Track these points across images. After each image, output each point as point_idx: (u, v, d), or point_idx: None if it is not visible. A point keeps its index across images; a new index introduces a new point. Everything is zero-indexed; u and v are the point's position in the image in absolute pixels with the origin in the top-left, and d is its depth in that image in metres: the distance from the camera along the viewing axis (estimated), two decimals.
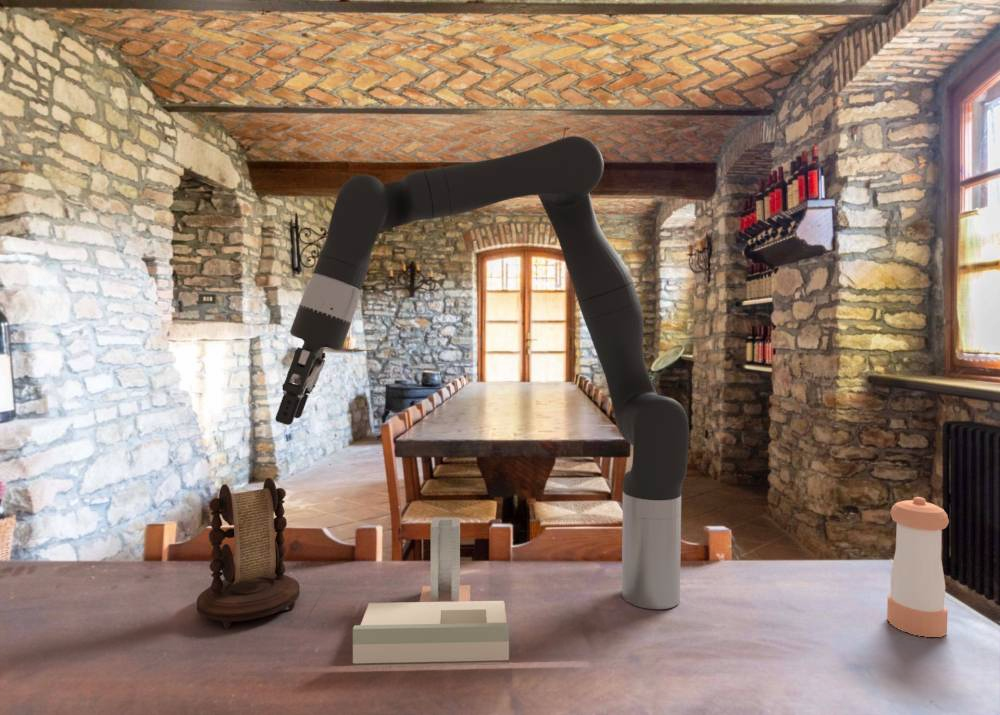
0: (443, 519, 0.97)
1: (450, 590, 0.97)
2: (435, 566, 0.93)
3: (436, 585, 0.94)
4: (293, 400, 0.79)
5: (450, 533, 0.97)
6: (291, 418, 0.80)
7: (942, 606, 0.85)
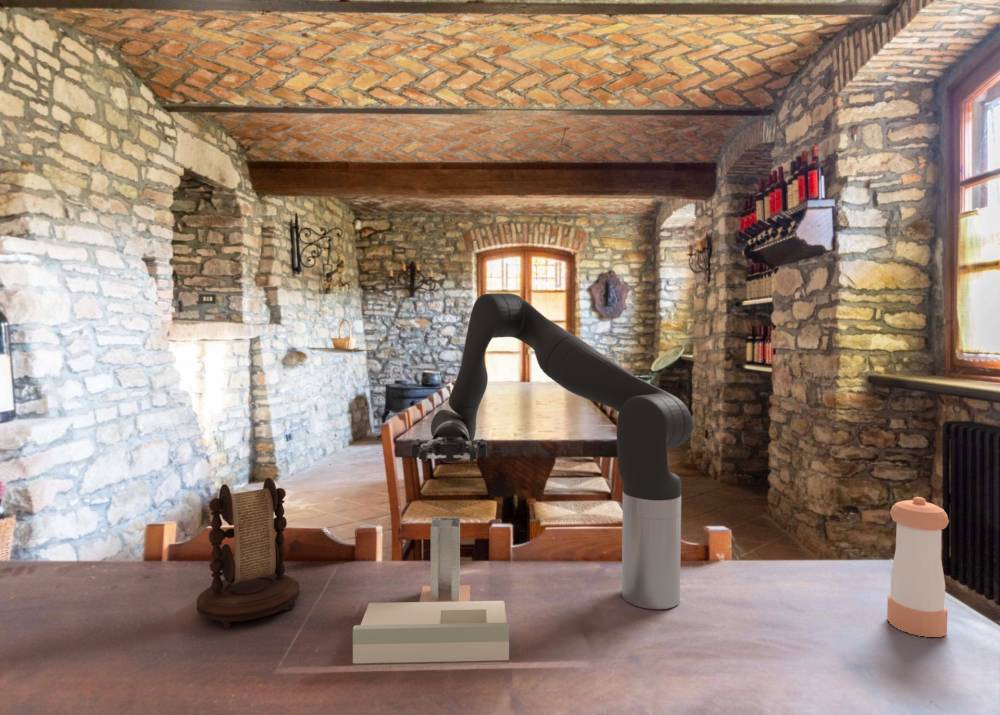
0: (443, 519, 0.97)
1: (450, 590, 0.97)
2: (435, 566, 0.93)
3: (436, 585, 0.94)
4: (419, 450, 1.10)
5: (450, 533, 0.97)
6: (422, 450, 1.07)
7: (942, 606, 0.85)
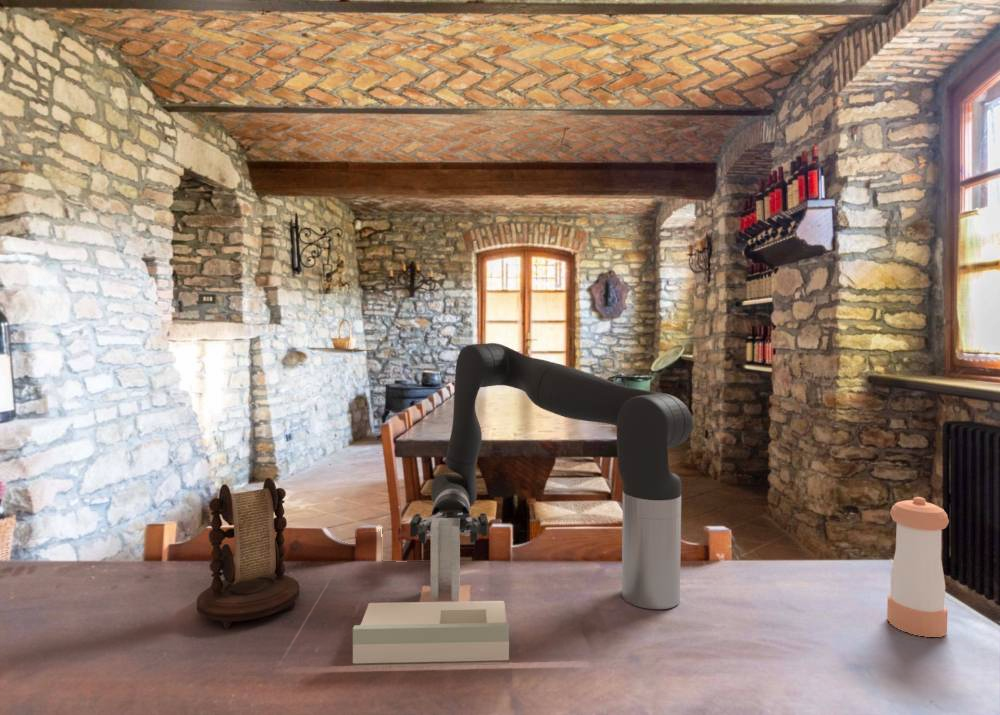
0: (443, 519, 0.97)
1: (450, 590, 0.97)
2: (435, 566, 0.93)
3: (436, 585, 0.94)
4: (418, 529, 1.07)
5: (450, 533, 0.97)
6: (421, 531, 1.04)
7: (942, 606, 0.85)
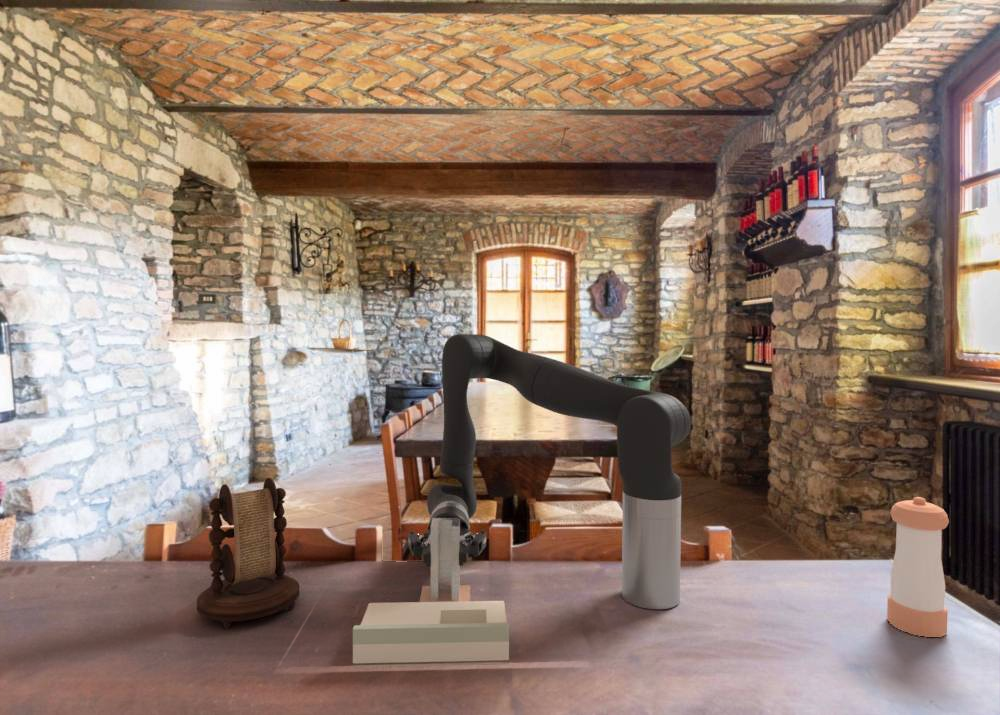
0: (443, 519, 0.97)
1: (450, 590, 0.97)
2: (435, 566, 0.93)
3: (436, 585, 0.94)
4: None
5: (450, 533, 0.97)
6: (426, 552, 0.94)
7: (942, 606, 0.85)
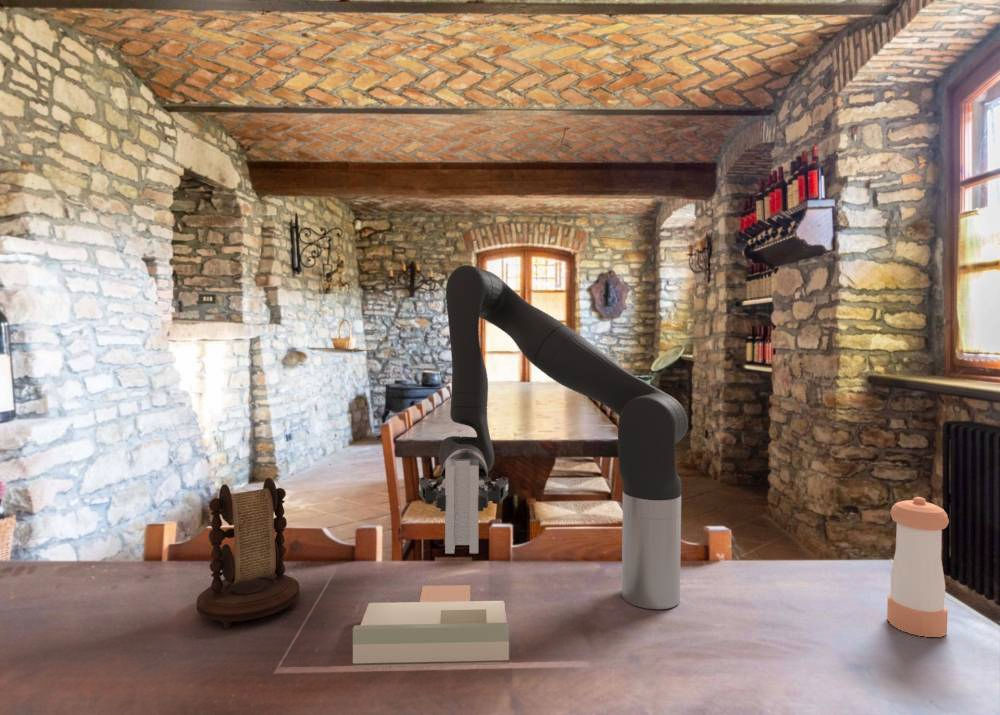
0: (459, 460, 0.84)
1: (467, 542, 0.84)
2: (451, 511, 0.80)
3: (452, 534, 0.80)
4: None
5: (467, 476, 0.84)
6: (440, 495, 0.81)
7: (942, 606, 0.85)
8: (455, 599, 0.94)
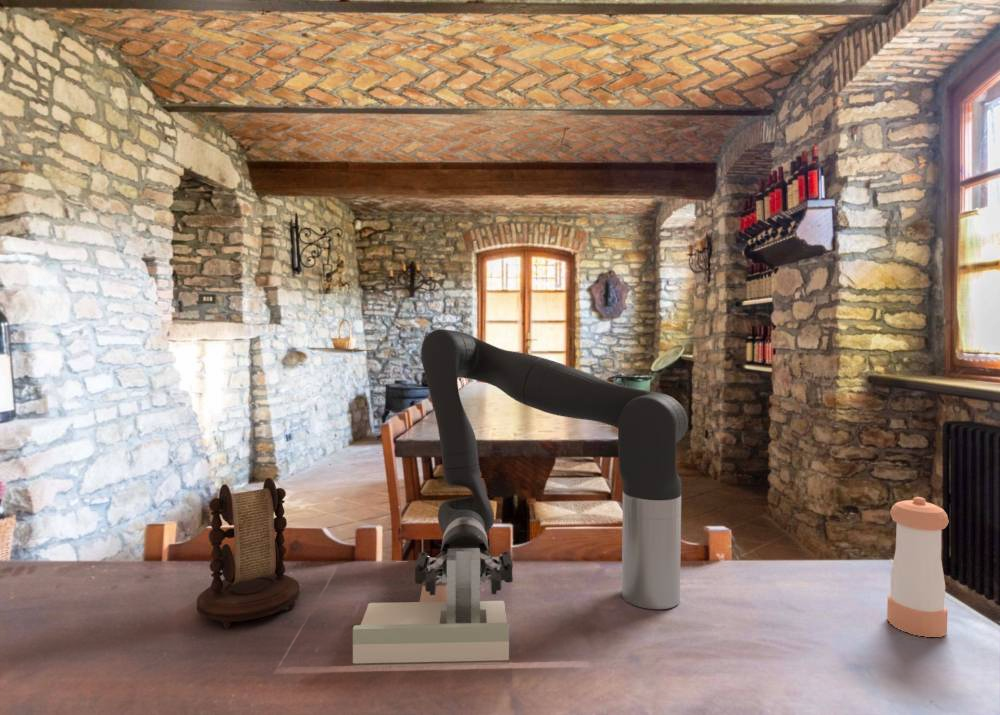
0: (460, 550, 0.84)
1: None
2: (452, 606, 0.80)
3: None
4: None
5: (469, 566, 0.83)
6: (430, 579, 0.81)
7: (942, 606, 0.85)
8: None
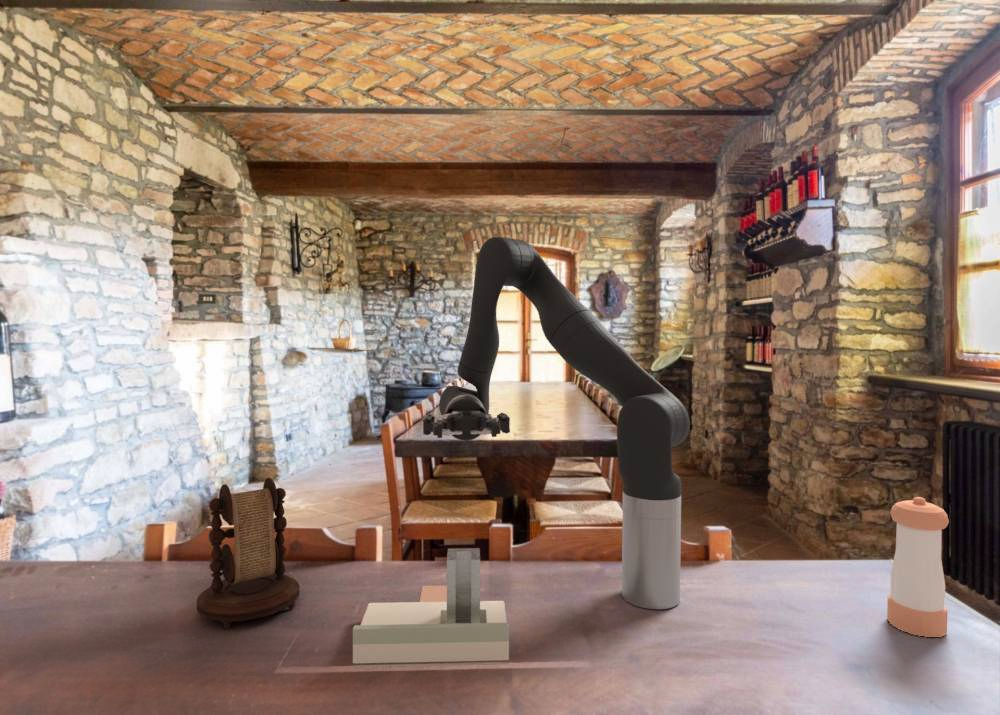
0: (460, 550, 0.84)
1: None
2: (452, 606, 0.80)
3: None
4: (433, 425, 0.95)
5: (469, 566, 0.83)
6: (437, 424, 0.93)
7: (942, 606, 0.85)
8: None
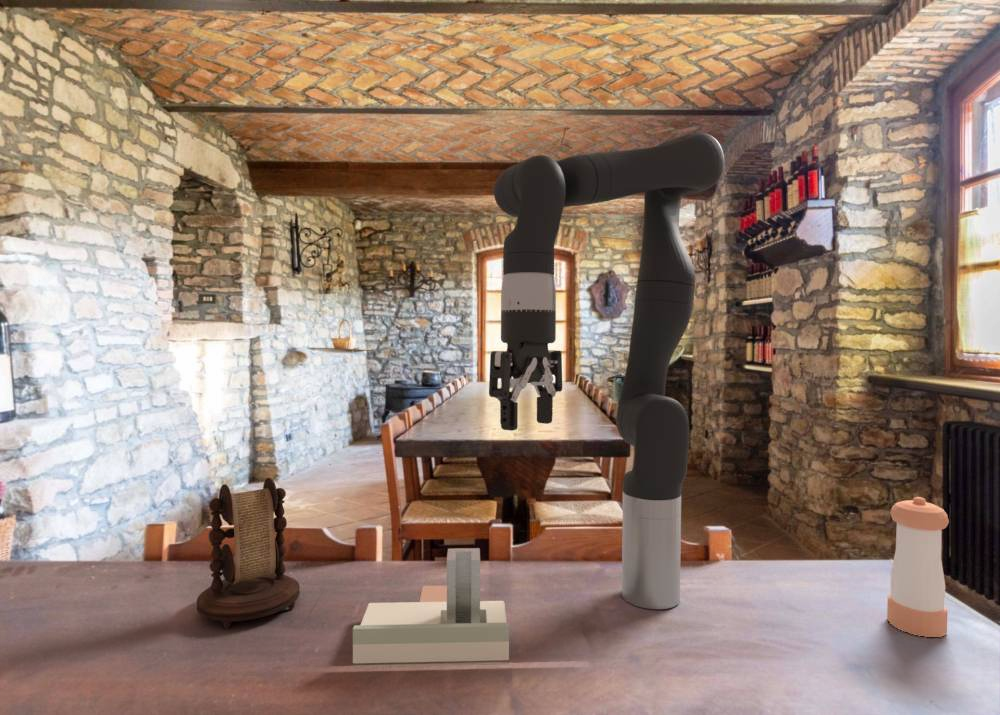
0: (460, 550, 0.84)
1: None
2: (452, 606, 0.80)
3: None
4: (507, 404, 0.77)
5: (469, 566, 0.83)
6: (513, 423, 0.77)
7: (942, 606, 0.85)
8: None
